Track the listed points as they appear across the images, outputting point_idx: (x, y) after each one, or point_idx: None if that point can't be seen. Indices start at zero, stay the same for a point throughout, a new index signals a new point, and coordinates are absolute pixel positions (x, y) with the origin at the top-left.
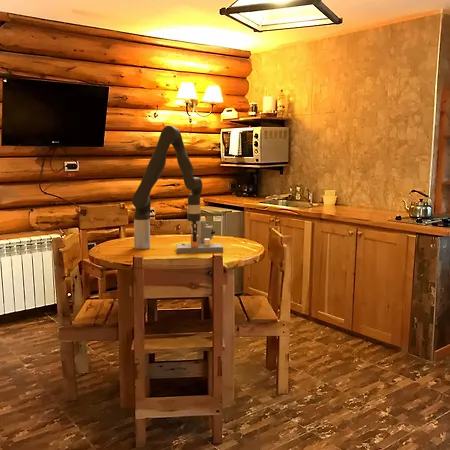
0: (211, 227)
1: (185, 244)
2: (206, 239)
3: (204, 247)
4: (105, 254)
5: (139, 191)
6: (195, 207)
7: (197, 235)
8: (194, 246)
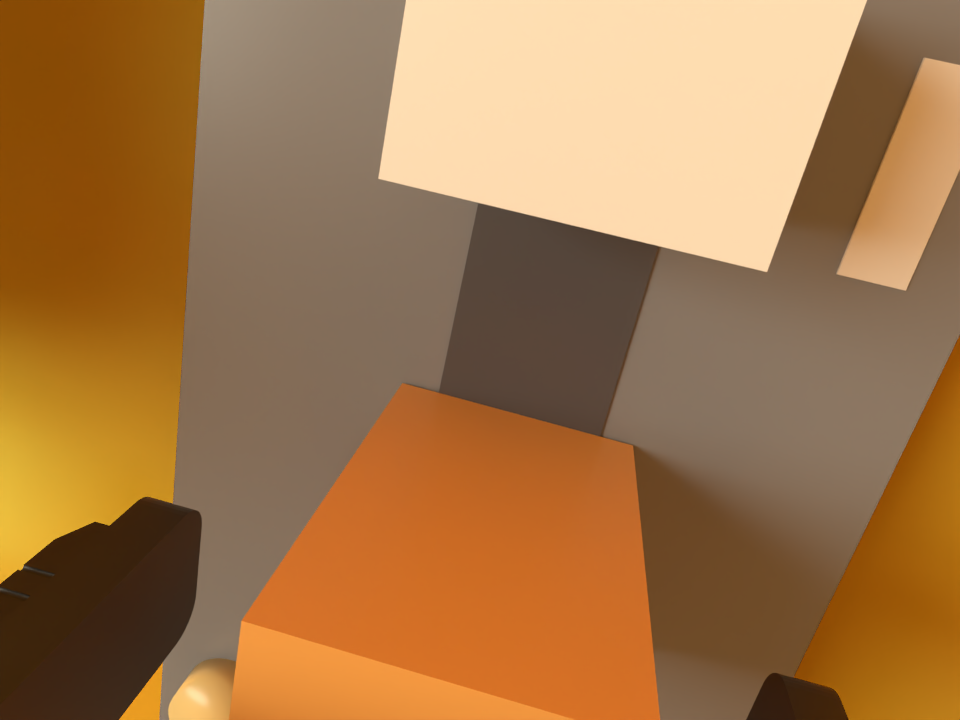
0: None
1: (207, 643)
2: (732, 154)
3: (950, 311)
4: None
5: None
6: None
7: (462, 700)
8: None
